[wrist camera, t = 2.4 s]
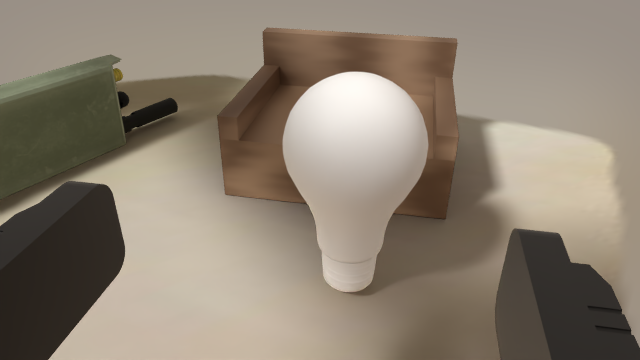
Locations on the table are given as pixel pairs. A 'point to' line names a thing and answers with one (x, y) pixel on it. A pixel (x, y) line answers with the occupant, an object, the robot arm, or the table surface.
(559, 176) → the table surface
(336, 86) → the lightbulb
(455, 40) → the stand
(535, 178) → the table surface
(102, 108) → the handheld radio
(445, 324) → the table surface
